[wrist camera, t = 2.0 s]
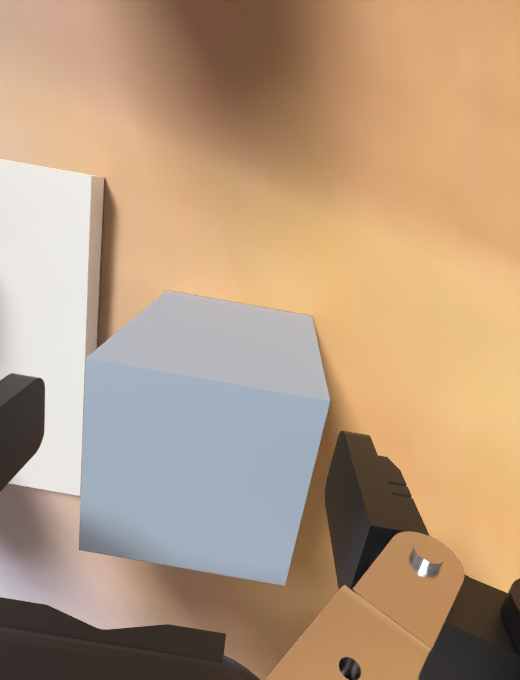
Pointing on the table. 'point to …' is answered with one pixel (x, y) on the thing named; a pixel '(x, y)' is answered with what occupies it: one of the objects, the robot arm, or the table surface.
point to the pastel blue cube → (202, 437)
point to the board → (50, 304)
